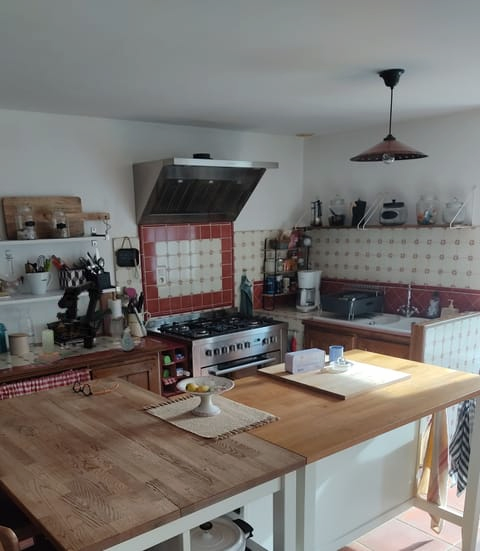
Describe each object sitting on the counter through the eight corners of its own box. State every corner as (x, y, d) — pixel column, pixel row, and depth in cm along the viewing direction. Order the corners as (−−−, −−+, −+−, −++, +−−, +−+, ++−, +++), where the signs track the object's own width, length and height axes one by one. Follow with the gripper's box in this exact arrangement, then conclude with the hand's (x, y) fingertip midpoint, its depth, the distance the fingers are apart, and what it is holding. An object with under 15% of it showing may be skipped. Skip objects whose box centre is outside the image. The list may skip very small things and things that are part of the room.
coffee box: (120, 340, 327) (119, 316, 324) (128, 340, 325) (127, 316, 322) (112, 343, 318) (111, 319, 316) (121, 344, 316) (120, 319, 314)
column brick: (51, 351, 287) (50, 328, 285) (56, 353, 283) (54, 330, 281) (41, 353, 283) (40, 329, 281) (45, 355, 279) (44, 331, 277)
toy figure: (113, 354, 295) (112, 329, 293) (113, 349, 305) (112, 325, 303) (142, 352, 299) (141, 328, 297) (140, 347, 309) (140, 324, 307)
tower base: (49, 356, 292) (49, 349, 291) (64, 358, 286) (64, 352, 286) (33, 361, 281) (32, 354, 281) (48, 364, 276) (47, 357, 275)
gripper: (65, 306, 302) (64, 331, 302) (52, 308, 284) (51, 335, 284) (83, 306, 302) (82, 332, 302) (71, 309, 283) (70, 336, 283)
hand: (71, 334), depth 293 cm, fingers open, 9 cm apart
